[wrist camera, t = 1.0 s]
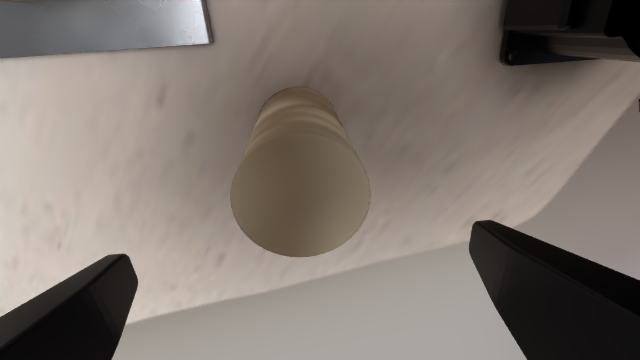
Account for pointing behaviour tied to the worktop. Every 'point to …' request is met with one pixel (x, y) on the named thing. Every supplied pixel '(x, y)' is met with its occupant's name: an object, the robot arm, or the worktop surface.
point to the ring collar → (99, 25)
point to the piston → (299, 178)
